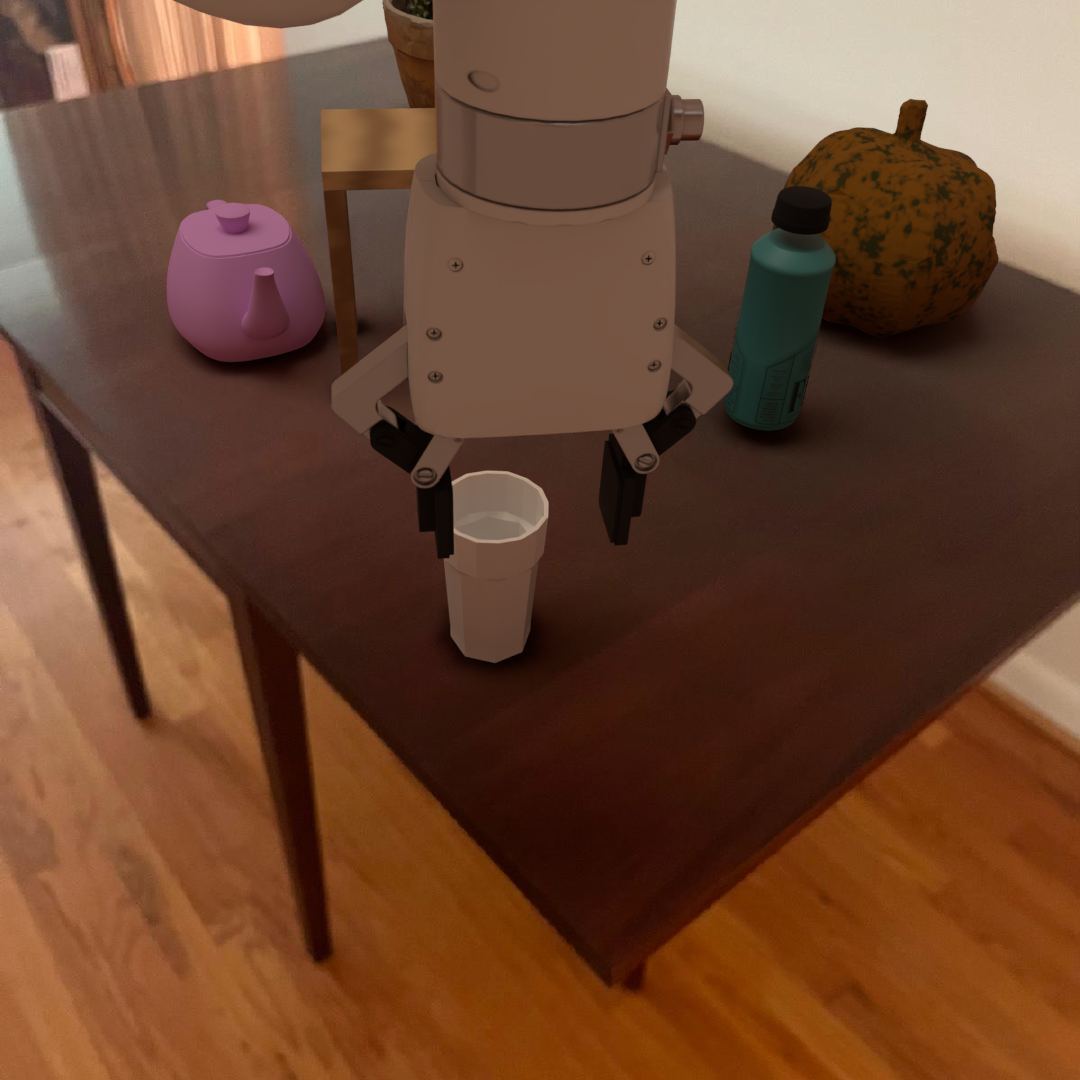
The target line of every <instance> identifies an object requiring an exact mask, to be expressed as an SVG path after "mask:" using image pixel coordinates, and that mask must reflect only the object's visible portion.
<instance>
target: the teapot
mask: <svg viewBox="0 0 1080 1080" xmlns="http://www.w3.org/2000/svg"><path fill="white" fill-rule="evenodd" d="M166 304H167V309H168V315H169V318H170V320H171V322H172V324H173V325H174V327H175V329H176V331H177V332H178V333H179V334H180V335H181V336H182V337H183V339H185V340H186V341H187V343H189V344H190V345H191V346H192V347H193V348H195V349H196V350H198V351H199V352H200V353H202V354H203V355H204V356H206V357H208V358H210V359H212V360H215V361H219V362H227V363H239V362H248V361H254V360H261V359H266V358H270V357H274V356H279V355H282V354H287V353H290V352H294V351H296V350H298V349H301V348H303V347H306V346H307V345H308V344H309V343H311V342H312V341H313V340H314V338H315V336H317V334H318V333H319V331H320V329H321V327H322V325H323V324H324V320H325V317H326V316H325V315H326V299H325V293H324V290H323V285H322V282H321V279H320V276H319V273H318V270H317V268H316V265H315V263H314V261H313V259H312V256H311V255H310V254H309V252H308V250H307V248H306V246H305V245H304V243H303V242H302V240H301V238H300V237H299V236H298V234H297V233H296V231H295V230H294V228H293V227H292V226H291V225H290V223H289V222H288V221H287V219H286V218H285V217H284V216H282V215H281V214H280V213H279V212H278V211H276V210H274V209H272V208H271V207H269V206H267V205H263V204H259V203H241V202H227V201H226V200H223V199H213V200H210V201H208V202H207V203H206V204H205V209H204V210H199V211H195V212H192V213H191V214H188V215H187V216H186V217H184V219H182V221H181V222H180V224H179V227H178V230H177V231H176V235H175V238H174V242H173V245H172V249H171V253H170V257H169V262H168V266H167V274H166Z"/></svg>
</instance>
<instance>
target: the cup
mask: <svg viewBox="0 0 1080 1080" xmlns="http://www.w3.org/2000/svg"><path fill="white" fill-rule="evenodd" d="M452 487H453V516H454V555H450V558H445V559H443V565H444V577H445V587H446V597H447V607H448V617H449V624H450V625H449V626H450V627H449V628H450V631H449V632H450V638H451V639H452V640H453V641H454V643H455V644H456V646H457V647H458V649H459V650H460V652H461V653H462V654H463V656H464V657H465V658H470V659H475V660H479V661H484V662H488V663H493V664H496V663H498V662H501V661H503V660H506V659H509V658H511V657H513V656H516V655H518V654H521V653H523V652H524V648H525V646H526V643H527V640H528V637H529V634H530V632H531V624H532V623H531V622H532V614H533V606H534V598H535V593H536V585H537V575H538V571H539V569H538V568H539V561H540V559H541V558H542V556H544V553H545V545H546V538H547V529H548V522H549V500H548V498H547V496H546V494H545V492H544V490H543V488H542V487H541V486H539V485H537V483H535V482H533V481H532V480H530V479H529V478H528V477H525V476H522V475H519V474H517V473H513V472H510V471H505V470H481V471H476V472H475V471H474V472H469V473H465V474H463V475H461V476H459V477H458V478H455V479H454V480H452Z"/></svg>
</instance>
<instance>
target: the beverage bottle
mask: <svg viewBox="0 0 1080 1080" xmlns="http://www.w3.org/2000/svg"><path fill="white" fill-rule="evenodd" d="M783 188H784V187H783ZM783 188H782V189H781V190H780V191H779V192H778V193H777V196H776V200H775V203H774V207H773V209H772V213H771V217H770V220H771V222H772V224H773V225H775V226H777V227H778V228H777V229H775V230H772V229H771V231H768V232H766V233H765V234H763V235H762V236H760V237H759V238H758V239H756V240H755V241H754V242H753V244H752V245H751V248H750V257H749V262H748V268H747V274H746V279H745V284H744V290H743V294H742V299H741V306H740V308H739V310H738V312H739V314H737V316H736V320H737V323H736V324H737V325H736V326H735V329H734V331H733V332H735V334H734V336H733V341H732V348H731V349H732V350H731V351H730V353H729V362H728V365H727V366H728V367H727V370H728V372H729V374H730V376H731V378H732V380H733V387H732V389H731V390H730V392H729V393H728V394H727V395H725V396H724V397H723V398H722V402H723V405H724V410H725V412H726V413H727V415H728V416H729V417H730V418H731V419H732V420H733V421H735V422H736V423H738V424H740V426H741V425H742V426H743V427H746V428H749V429H752V430H758V431H767V432H768V431H769V432H770V431H778V430H779V431H780V430H782V429H785V428H788V427H789V426H791V425H792V424H793V423H794V422H795V421H796V419H797V418H798V417H799V416H800V415H801V413H800V412H802V406H803V404H804V401H805V398H806V393H807V392H806V391H807V389H808V388H807V387H808V383H809V379H810V375H811V374H810V371H811V370H812V367H813V365H814V360H815V356H816V354H814V353H816V352H817V347H818V343H817V342H819V339H818V335H819V333H820V332H821V330H820V329H821V324H822V319H823V318H822V317H824V316H822V315H823V309H824V304H825V300H826V296H827V291H828V287H829V283H830V279H831V275H832V270H833V268H834V266H835V262H836V257H835V254H834V252H833V250H832V249H831V247H830V246H829V245H828V243H827V242H826V241H825V240H824V239H823V238H822V237H821V236H820V235H818V234H819V233H822V232H824V231H826V230H827V229H828V226H829V222H830V212H831V206H832V199H831V197H830V196H829V195H828V194H826V193H825V192H823V191H821V190H818V189H815V188H811V187H806V186H792V187H787V188H784V189H783ZM737 317H738V319H737Z"/></svg>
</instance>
